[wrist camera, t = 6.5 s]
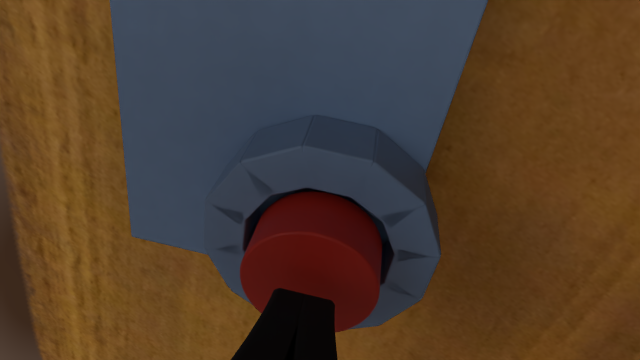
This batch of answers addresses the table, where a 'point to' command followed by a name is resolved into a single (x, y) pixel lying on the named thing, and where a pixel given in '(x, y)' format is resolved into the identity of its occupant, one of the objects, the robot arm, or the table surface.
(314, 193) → the button
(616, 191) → the table surface
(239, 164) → the blue button base
